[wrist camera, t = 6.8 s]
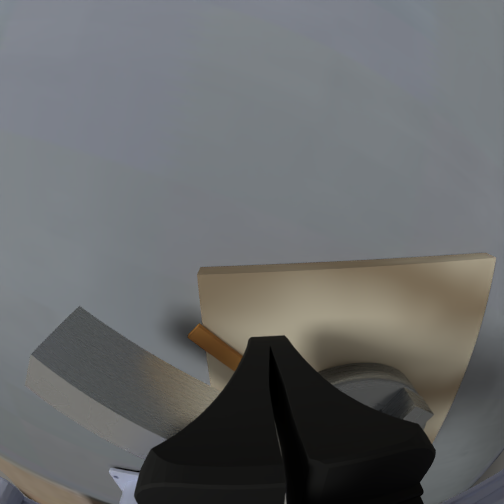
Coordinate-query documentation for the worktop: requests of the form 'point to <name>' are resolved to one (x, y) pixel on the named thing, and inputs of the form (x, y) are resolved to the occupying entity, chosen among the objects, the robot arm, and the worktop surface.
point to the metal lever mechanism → (167, 386)
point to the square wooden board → (353, 317)
